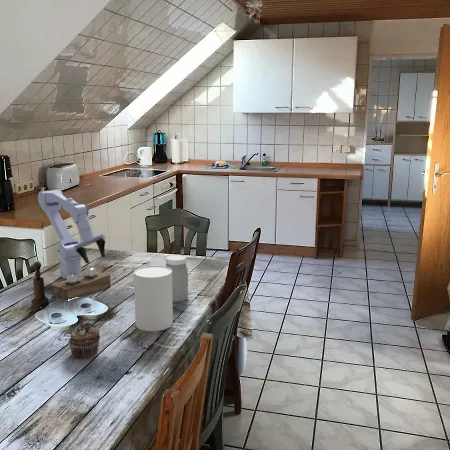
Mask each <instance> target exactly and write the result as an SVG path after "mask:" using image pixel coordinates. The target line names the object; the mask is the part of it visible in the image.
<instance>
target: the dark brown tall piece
mask: <svg viewBox="0 0 450 450" xmlns="http://www.w3.org/2000/svg"><path fill="white" fill-rule="evenodd" d="M32 266H33V267H32V268H33V269H34V270H35V272H34V275H35V277H34V278H33V279H32V285H33V294H34V295H33V296H34V297H33V298H32V299H31V300H30V301H31V307H32V308H33V307H35V308H34V309H41V308H40V307H44V308H47V307H49V305H50V299H49V298H48V296H46V292H45V279H44V277H42V275H41V274H42V272H41V271H40V270H41V268H42V263H41V262H40V261H34V263H33V264H32ZM46 306H47V307H46Z"/></svg>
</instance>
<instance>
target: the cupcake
mask: <svg viewBox="0 0 450 450" xmlns="http://www.w3.org/2000/svg"><path fill="white" fill-rule="evenodd" d="M100 339H101V336H100V330H98V329H97V328H96V326H95V325H94V324H93V323H91V321H86V323H84V324H82V323H79V325H78V326H77V327H75V329H74V330H73V331H72V332H71V334H70V338H69V339H68V345H69V348H70V352H71V356H72V357H73V358H74V359H77V360H87V359H90V358H92V357H95V356H96V355H97V354H98V351H99V345H100Z"/></svg>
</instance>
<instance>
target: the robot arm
mask: <svg viewBox="0 0 450 450" xmlns="http://www.w3.org/2000/svg"><path fill="white" fill-rule="evenodd" d="M37 200H38V201H37V202H38V204H39V207H41V209H42V211H43V212H45V214H46V216H47V218H48V219H49V221H50V223H51V226H52V227H53V229H54V231H55V233H56V235H57V237H58V239H59V241H60V242H59V244H58V246H57V249H58V252H59V257H60V258H61V259H60V261H59V272H60V273H59V274H60V275H58V277H59V278H61V277H62V279H65V280H67V274H71V273H76V274H78V276H80V275H83V274H84V273H83V274H82V263H81V262H82V259H83V261H84V262H85V264H90V260H89V257H88V255H87V249H86V247H87V246H90V245H93V244H96V245H97V248H98V249H99V252H100V255H101V257H102V258H105V257H106V253H105V252H106V251H105V250H106V249H105V246H106V234H104V233H103V234H99V235H96V236H95V233H94V230H93V228H92V225H91V222H90V218H89V208H88V206H87V204H86V203H83V204H80V203H78V202H77V201H75V200H74V199H73V198H72V197H68V198H67V197H66V196H64V195H63V192H62V191H61V189H60V188H59V189H58V188H57V189H52V190H43V191H41V190H40V191H39V192H38V195H37ZM61 208H63V210H64V211H65V212H67V213H69V214H70V215H69V216H70V218H71V219H72V220H73V221H72V222H74V224H76V228H77V230H78V231H77V232H78V234H79V236H80V239H81V242H80V241H79V239H77V238H74V237H72V235H71V233H70V231H69V229H68V228H67V226H66V224H65V221H64V220H63V218H62V216H61V214H60V213H59V210H61Z"/></svg>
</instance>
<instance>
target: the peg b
mask: <svg viewBox="0 0 450 450" xmlns="http://www.w3.org/2000/svg"><path fill="white" fill-rule="evenodd" d="M96 271H97V268H96V267H94V266H93V267H92V266H91V267H87V268H86V267H85V273H84V274H86V278H88V279H93V278H95V277H96Z"/></svg>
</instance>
